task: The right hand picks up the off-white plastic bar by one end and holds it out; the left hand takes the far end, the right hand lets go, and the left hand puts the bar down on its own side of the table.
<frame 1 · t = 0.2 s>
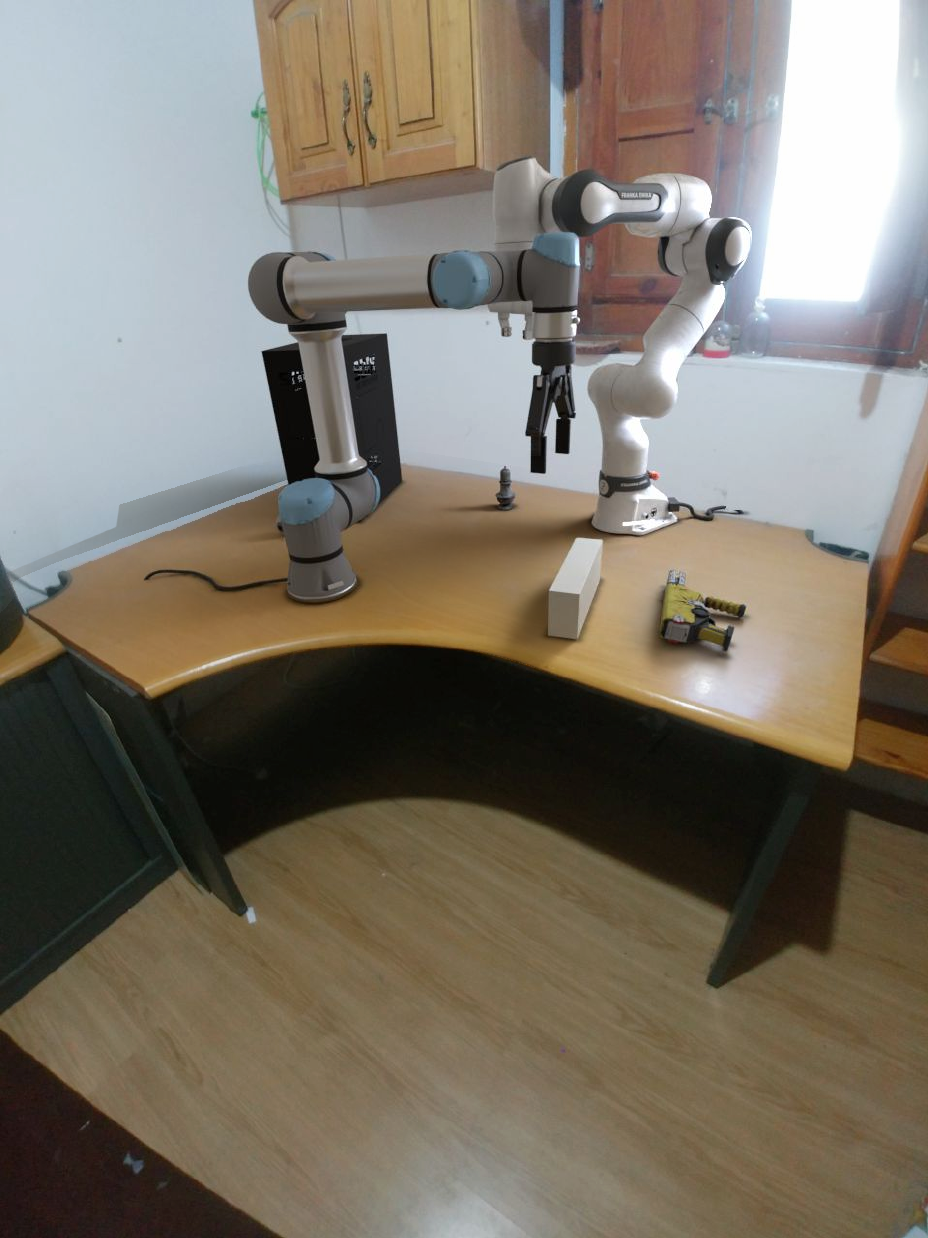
left hand: (550, 462, 114), 28 cm above the table, tool pointing down, fingers open, 13 cm apart
right hand: (516, 338, 125), 47 cm above the table, tool pointing down, fingers open, 8 cm apart
bar: (575, 605, 123), on the table
grey chess piece: (505, 507, 175), on the table
eyeball: (289, 534, 165), on the table
toy gun: (702, 619, 115), on the table
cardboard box: (352, 499, 188), on the table
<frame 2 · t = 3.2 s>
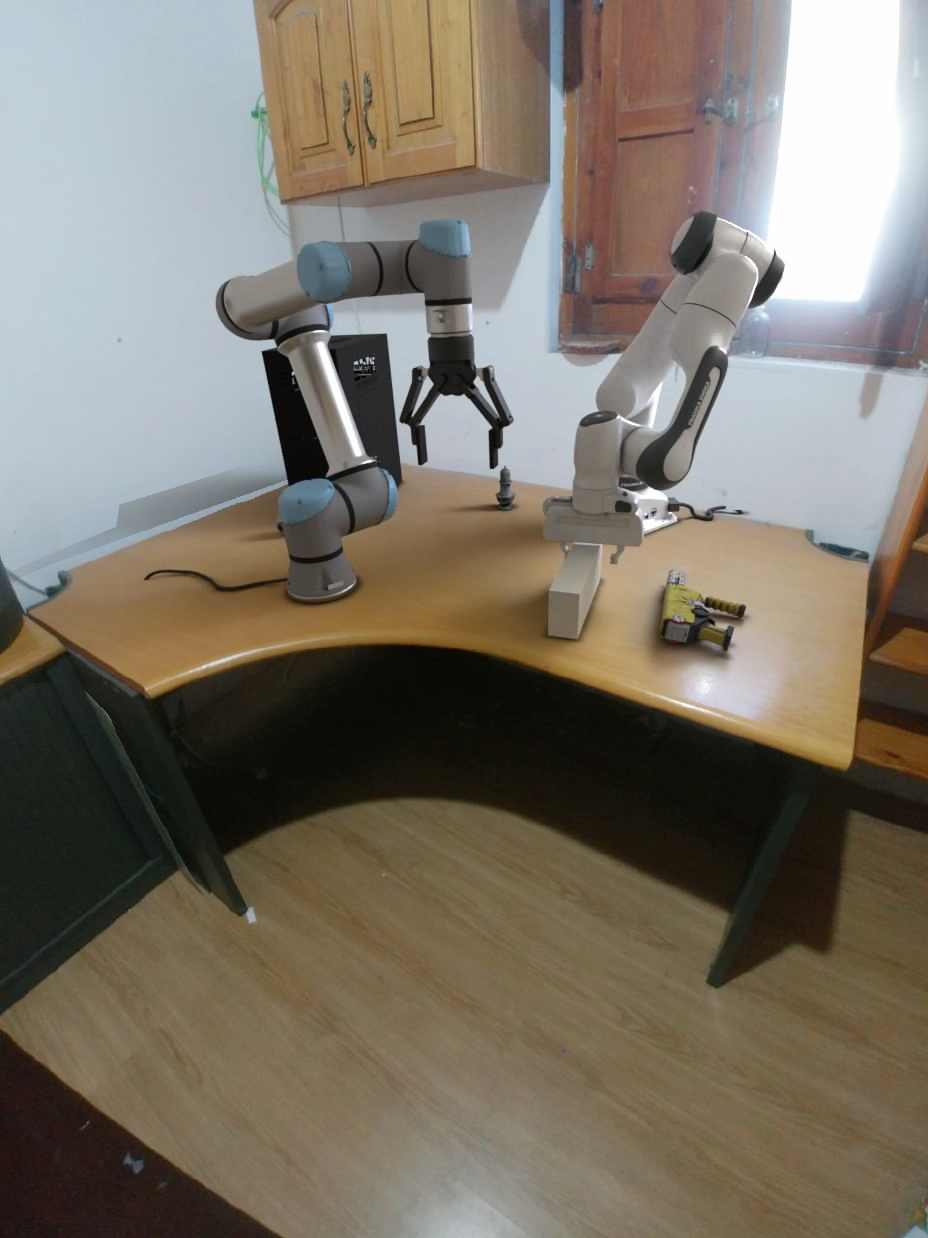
left hand: (457, 465, 108), 30 cm above the table, tool pointing down, fingers open, 13 cm apart
right hand: (591, 561, 127), 6 cm above the table, tool pointing down, fingers open, 8 cm apart
nothing on the table moved.
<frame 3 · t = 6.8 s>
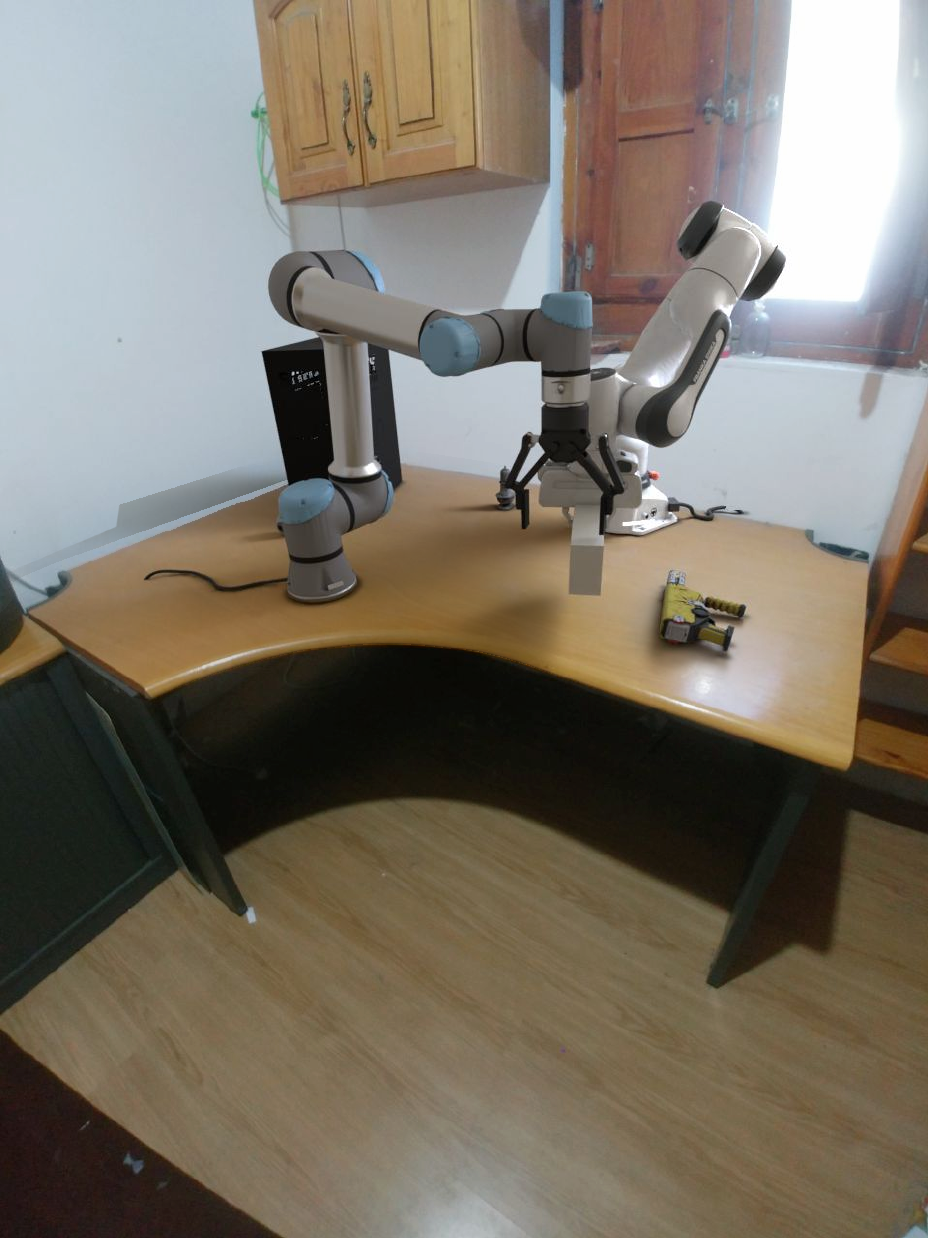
left hand: (563, 529, 105), 20 cm above the table, tool pointing down, fingers open, 13 cm apart
right hand: (588, 527, 123), 13 cm above the table, tool pointing down, fingers closed on bar, 5 cm apart
bar: (585, 564, 118), point 9 cm above the table, touching right hand
everything else where it was.
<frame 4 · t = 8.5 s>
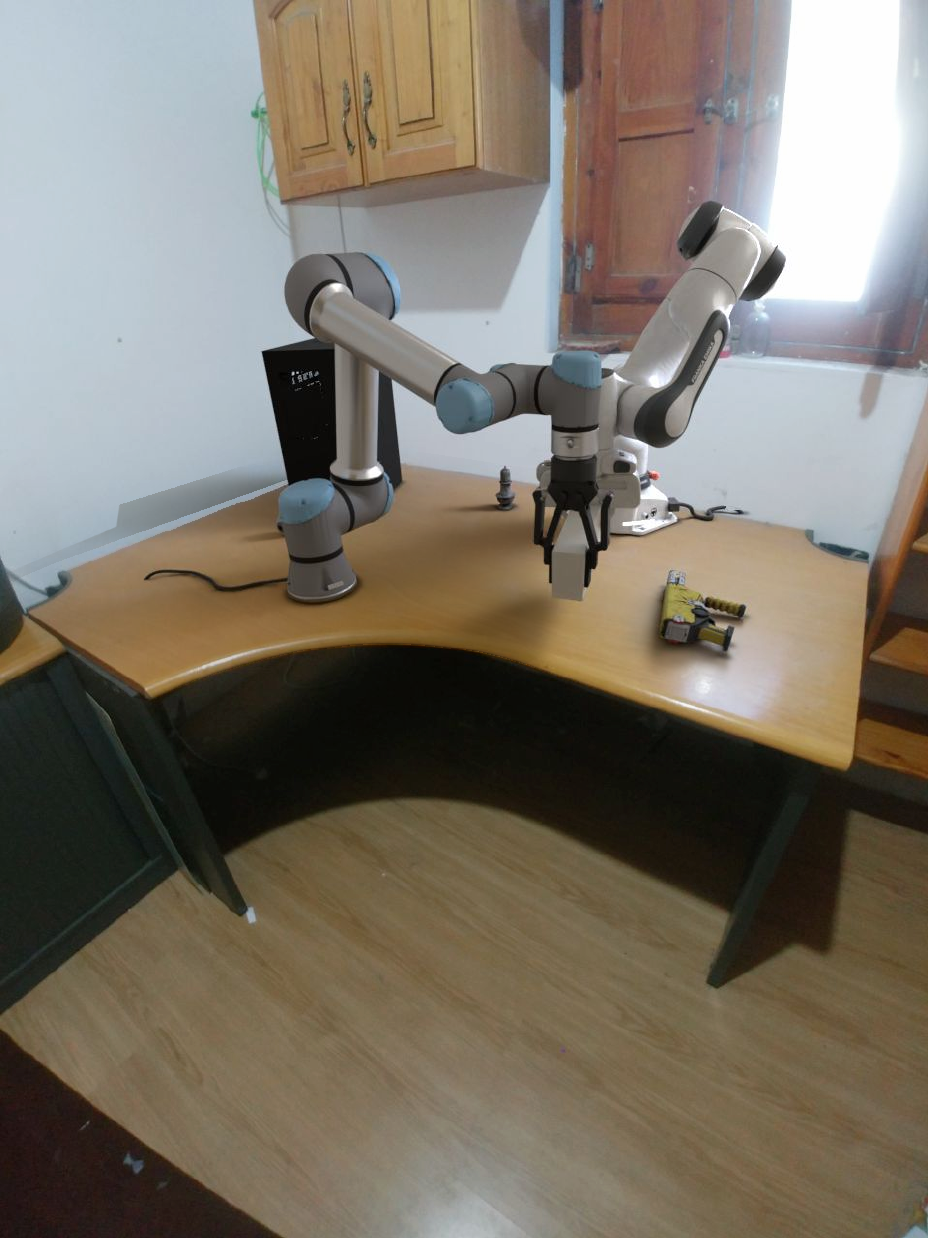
left hand: (569, 582, 110), 10 cm above the table, tool pointing down, fingers closed on bar, 6 cm apart
right hand: (586, 526, 124), 13 cm above the table, tool pointing down, fingers closed on bar, 6 cm apart
bar: (578, 566, 119), point 9 cm above the table, touching right hand, left hand
everything else where it was.
when the right hand's fingers open (13 cm above the table, at t = 9.5 s): bar stays where it is, held by the left hand.
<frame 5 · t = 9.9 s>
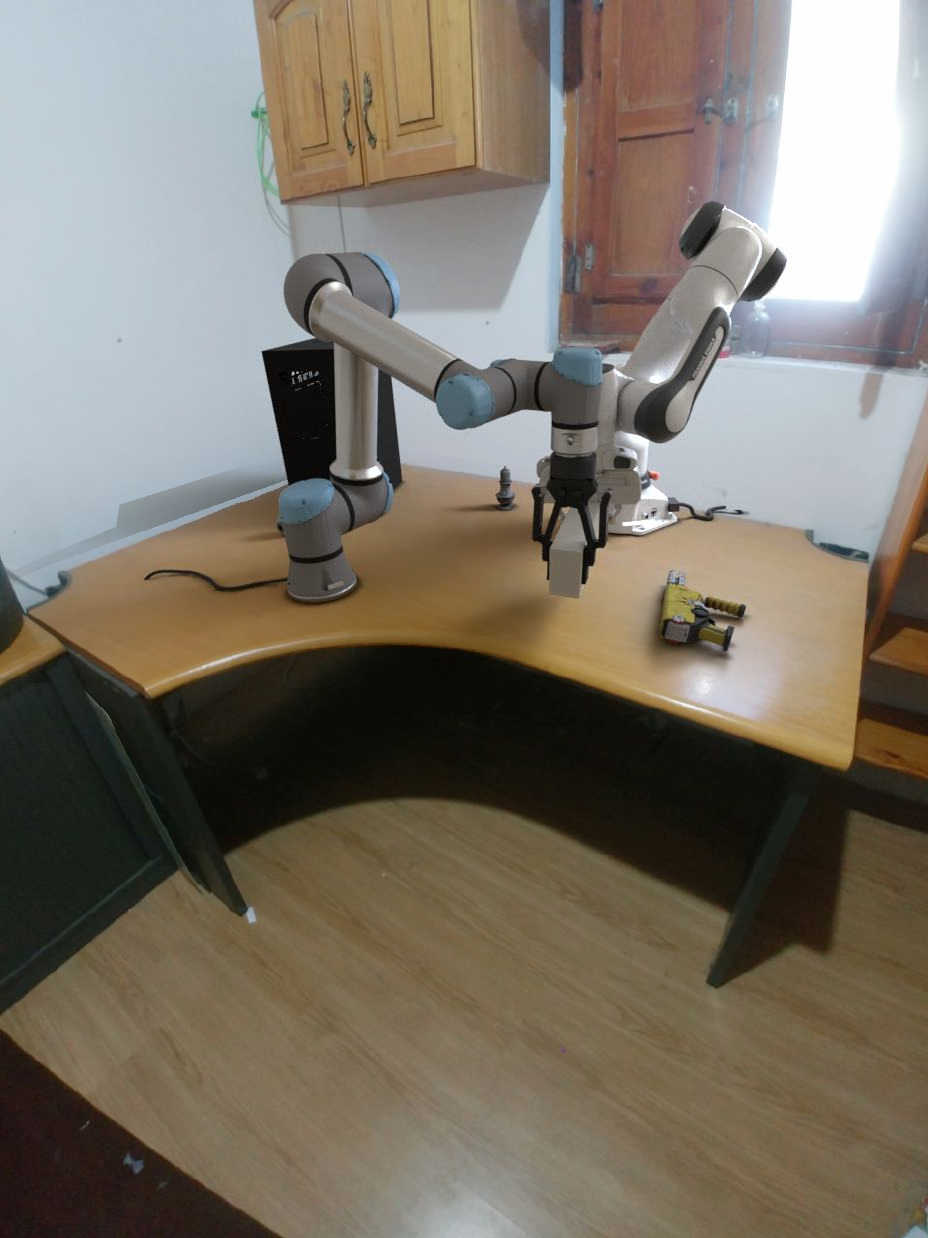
left hand: (567, 578, 110), 11 cm above the table, tool pointing down, fingers closed on bar, 6 cm apart
right hand: (587, 523, 123), 14 cm above the table, tool pointing down, fingers open, 8 cm apart
bar: (577, 563, 119), point 9 cm above the table, touching left hand
everything else where it was.
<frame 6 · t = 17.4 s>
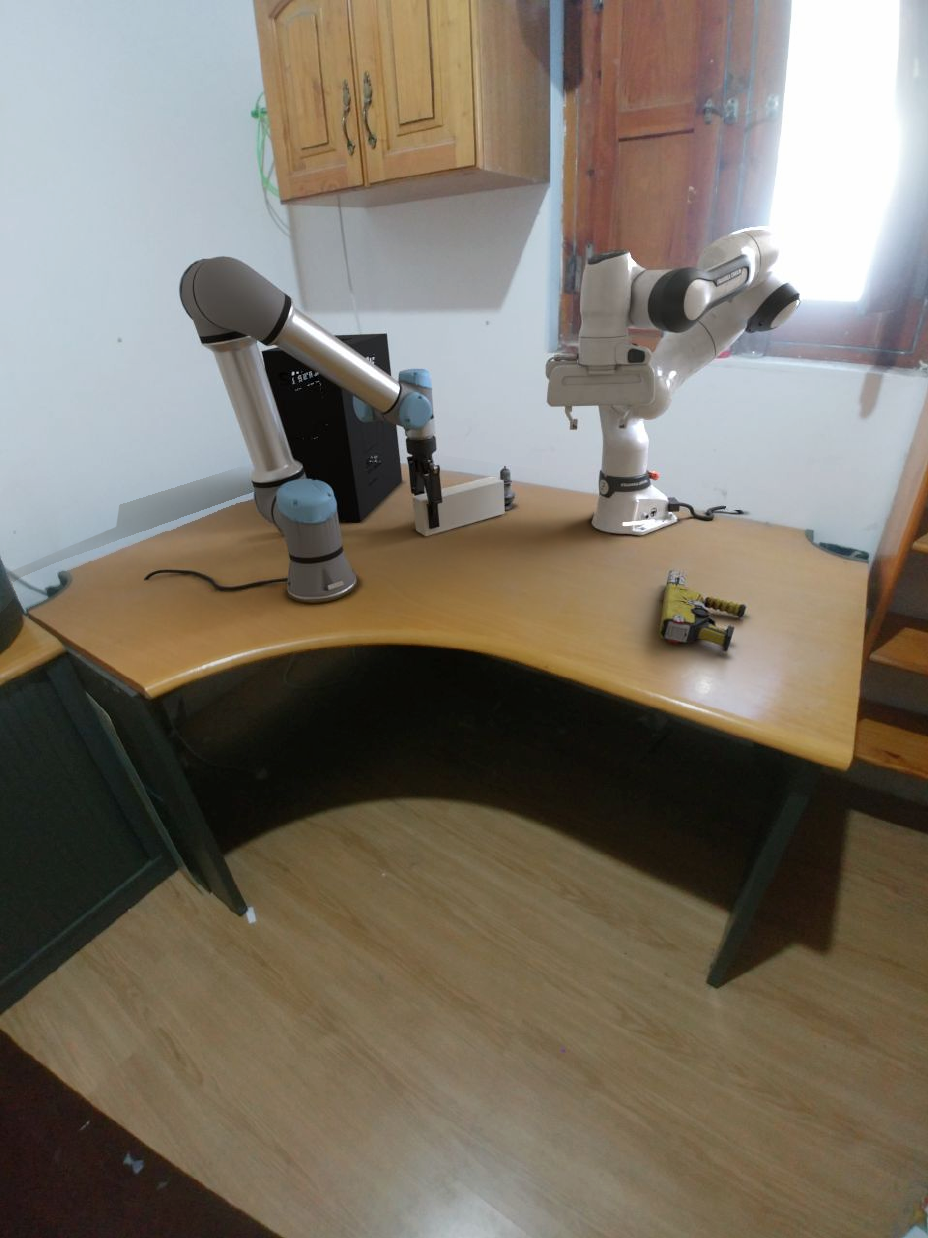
left hand: (428, 523, 161), 2 cm above the table, tool pointing down, fingers closed on bar, 6 cm apart
right hand: (597, 428, 119), 32 cm above the table, tool pointing down, fingers open, 8 cm apart
bar: (461, 521, 167), on the table, touching left hand
everything else where it was.
when the left hand's fingers open (2 cm above the table, at t = 17.5 s): bar stays where it is, on the table.
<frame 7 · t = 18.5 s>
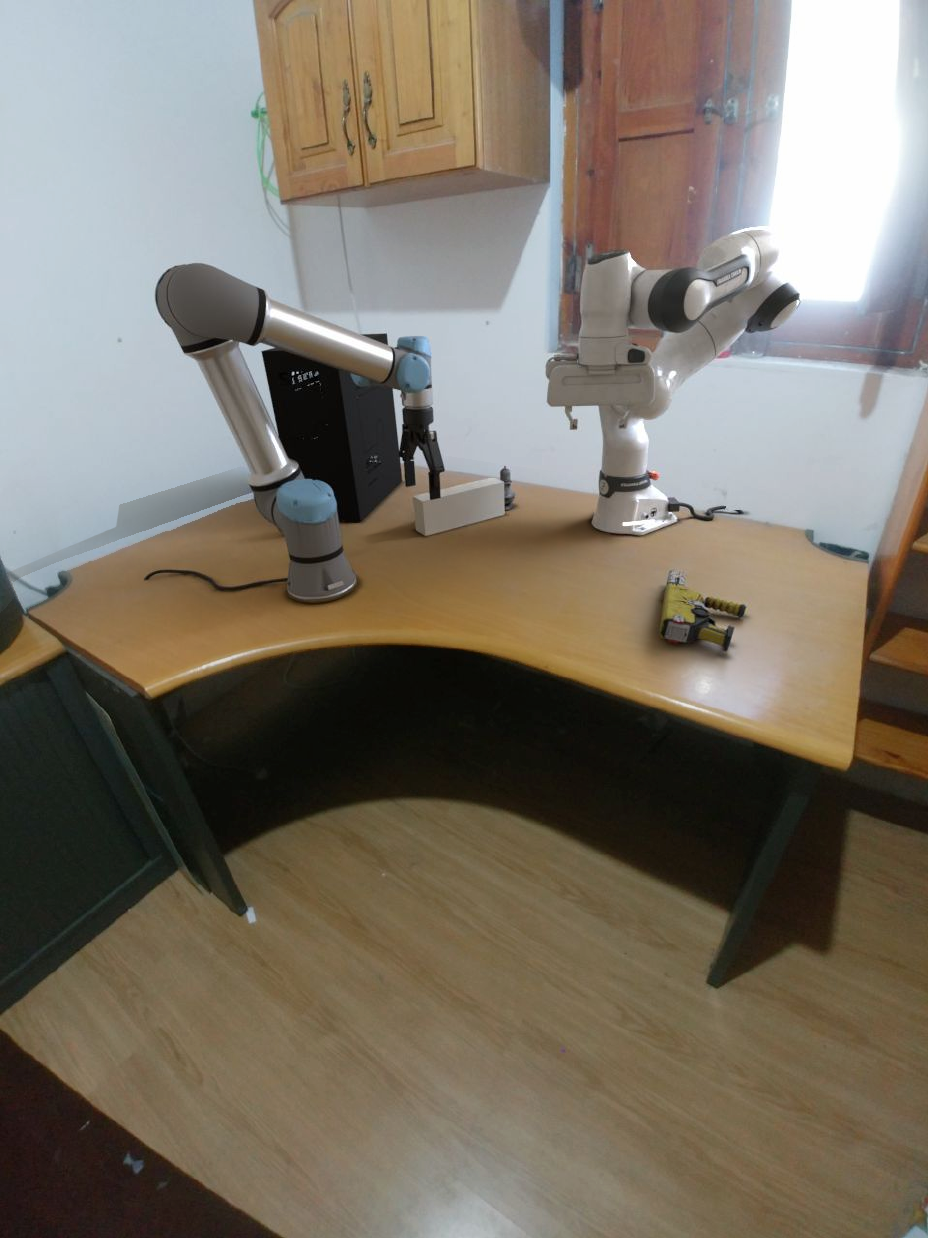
left hand: (422, 492, 156), 11 cm above the table, tool pointing down, fingers open, 13 cm apart
right hand: (597, 428, 119), 32 cm above the table, tool pointing down, fingers open, 8 cm apart
bar: (461, 522, 167), on the table
everything else where it was.
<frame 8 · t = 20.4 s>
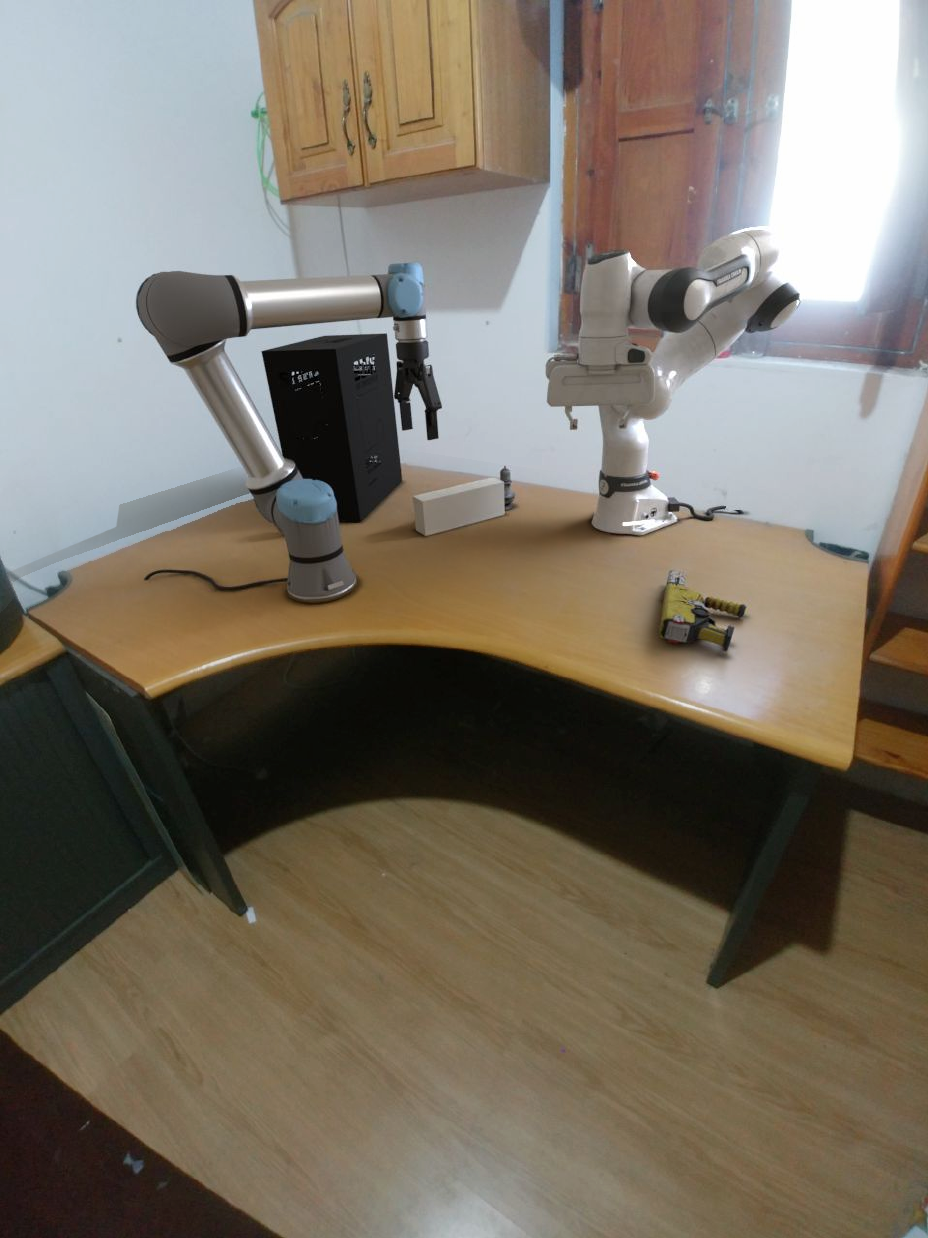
left hand: (419, 434, 149), 26 cm above the table, tool pointing down, fingers open, 13 cm apart
right hand: (597, 428, 119), 32 cm above the table, tool pointing down, fingers open, 8 cm apart
nothing on the table moved.
at the end: bar inside the target area (10.4 cm from its centre), on the table; the left hand is holding nothing; the right hand is holding nothing; bar at rest at the end (0.0 cm/s) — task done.
